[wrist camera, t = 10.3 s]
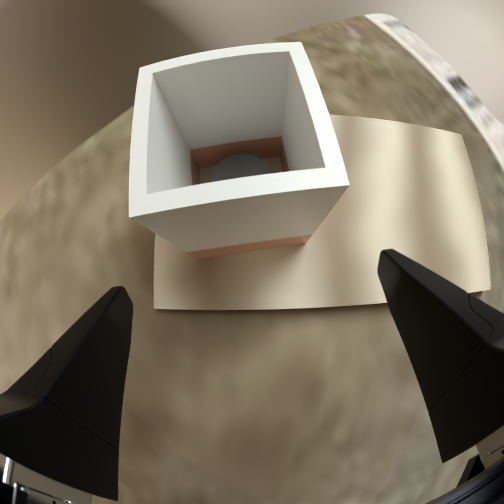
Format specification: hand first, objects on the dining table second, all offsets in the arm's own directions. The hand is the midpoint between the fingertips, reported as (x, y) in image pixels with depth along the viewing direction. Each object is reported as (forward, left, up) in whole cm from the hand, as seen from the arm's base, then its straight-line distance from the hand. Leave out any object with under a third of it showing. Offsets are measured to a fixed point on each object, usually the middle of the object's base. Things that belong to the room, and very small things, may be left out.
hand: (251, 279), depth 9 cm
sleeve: (+4, -3, -7) cm, 9 cm away
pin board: (0, -8, -8) cm, 11 cm away
